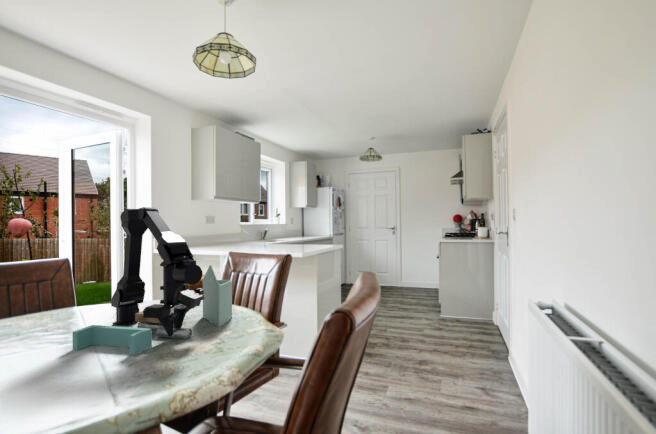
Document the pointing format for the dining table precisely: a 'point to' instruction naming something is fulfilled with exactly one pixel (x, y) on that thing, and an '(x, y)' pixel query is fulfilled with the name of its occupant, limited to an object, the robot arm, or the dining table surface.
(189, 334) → the roller
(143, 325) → the roller front
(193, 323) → the dining table surface
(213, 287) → the planter
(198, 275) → the robot arm
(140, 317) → the slab
